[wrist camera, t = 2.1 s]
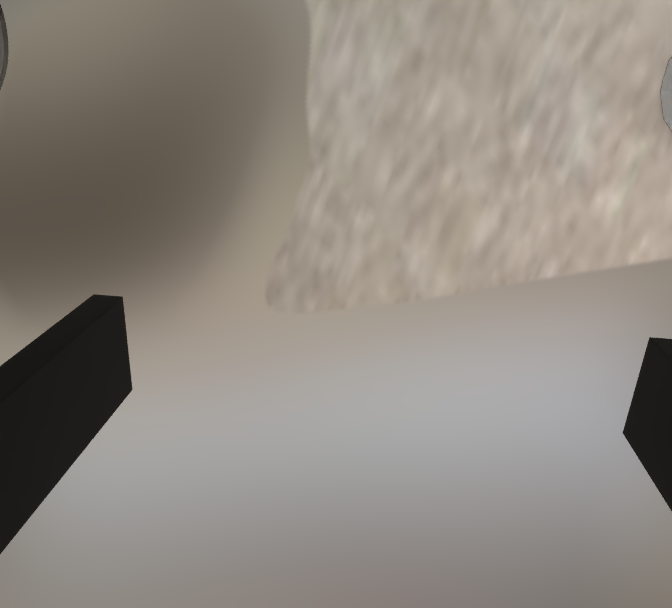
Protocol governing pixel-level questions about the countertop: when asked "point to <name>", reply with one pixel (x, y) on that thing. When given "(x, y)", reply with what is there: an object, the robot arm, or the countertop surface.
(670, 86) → the french press
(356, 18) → the countertop surface
